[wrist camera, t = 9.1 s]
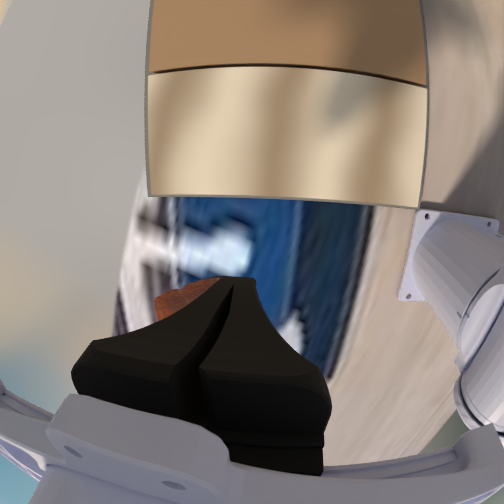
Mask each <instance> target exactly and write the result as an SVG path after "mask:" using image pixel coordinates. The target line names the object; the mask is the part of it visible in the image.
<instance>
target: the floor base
mask: <svg viewBox="0 0 504 504" xmlns="http://www.w3.org/2000/svg"><path fill="white" fill-rule="evenodd" d="M225 67H289V68H306V69H318V70H328V71H337V72H345V73H352V74H359V75H365V76H371V77H377V78H382V79H387V80H392V81H397V82H401V83H406V84H410V85H414V86H418V87H422V88H426V89H427V119H426V138H425V151H424V162H423V171H422V179H421V187H420V194H419V201H418V207H408V206H399V205H389V204H379V203H368V202H356V201H344V200H330V199H315V198H298V197H278V196H251V195H200V194H172V195H152V194H151V181H150V164H149V142H148V76H149V75H155V74H162V73H169V72H177V71H186V70H196V69H208V68H225ZM144 110H145V155H146V175H147V190H148V197H237V198H268V199H290V200H308V201H324V202H339V203H352V204H364V205H375V206H386V207H396V208H405V209H414V210H420V203H421V197H422V189H423V182H424V173H425V163H426V152H427V138H428V117H429V76H428V56H427V43H426V32H425V24H424V16H423V9H422V3H421V0H151V2H150V11H149V21H148V32H147V46H146V65H145V107H144Z"/></svg>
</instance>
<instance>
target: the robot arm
mask: <svg viewBox="0 0 504 504" xmlns="http://www.w3.org/2000/svg"><path fill="white" fill-rule="evenodd" d="M427 213H428V217H427V218H425V214H427ZM488 222H489V224H488ZM487 224H488V225H487ZM499 225H500V223H499V221H498V220H496V219H493V218H487V217H480V216H474V215H467V214H460V213H453V212H446V211H438V210H431V209H422V208H420V210H417V211H416V212H415V217H414V223H413V228H412V233H411V239H410V244H409V248H408V253H407V258H406V262H405V266H404V271H403V275H402V279H401V283H400V287H399V290H398V294H397V297H398V299H399V300H400V301H427V303H428V304H429V305H430V307H431V308H432V310H433V311H434V313H435V314H436V316H437V317H438V319H439V320H440V322H441V323H442V325H443V326H444V328H445V329H446V331H447V332H448V334H449V335H450V337H451V339H452V340H453V342H454V343H455V345H456V347H457V348H458V355H457V357H456V359H455V361H454V362H455V363H456V365H457V367H458V369H459V371H460V373H461V374H460V376H459V377H458V379H457V381H456V382H455V386H454V392H453V394H454V401H455V405H456V408H457V410H458V413H459V414H460V416H461V418H462V420H463V421H464V423H465V424H466V425H467V427H468V428H469V429H470V431H468V432H466V433H464V434H463V435H462V436H461V437H460V438H459V439H458V440H457V441H456V443H455V444H454V446H450V447H447V448H443V449H439V450H435V451H431V452H427V453H423V454H418V455H413V456H408V457H403V458H398V459H392V460H385V461H378V462H371V463H362V464H353V465H340V466H323V450H322V448H323V447H324V431H325V429H326V426H327V423H328V421H329V418H330V416H331V411H332V403H331V397H330V394H329V390H328V387H327V384H326V382H325V379H324V377H323V374H322V372H321V370H320V368H319V367H317V366H316V365H314V364H313V363H311V362H310V361H308V360H307V359H305V358H304V357H302V356H301V355H300V354H299V353H297V352H296V351H295V350H294V349H293V348H292V347H291V346H290V345H289V344H288V343H287V342H286V341H285V340H284V339H283V338H282V337H281V335H280V334H279V333H278V332H277V330H276V329H275V327H274V326H273V325H272V323H271V322H270V320H269V318H268V317H267V315H266V313H265V311H264V309H263V307H262V304H261V302H260V300H259V297H258V294H257V290H256V280H255V279H254V278H247V277H231V276H223V277H221V278H220V279H219V280H218V281H217V282H215V283H214V284H213V285H212V286H211V287H210V288H209V289H207V290H206V291H205V292H204V293H203V294H201V295H200V296H199V297H198V298H196V299H195V300H193V301H192V302H191V303H189V304H188V305H186V306H185V307H184V308H182V309H180V310H179V311H177V312H175V313H174V314H172V315H170V316H168V317H166V318H164V319H162V320H160V321H158V322H156V323H153V324H151V325H149V326H146V327H144V328H141V329H138V330H135V331H132V332H129V333H126V334H122V335H118V336H114V337H109V338H104V339H100V340H93V341H92V342H91V343H90V345H89V346H88V347H87V348H86V350H85V351H84V352H83V354H82V355H81V357H80V358H79V359H78V361H77V362H76V363H75V365H74V366H73V368H72V371H71V377H72V381H73V383H74V386H75V388H76V390H77V392H78V393H79V394H69V395H68V396H67V398H66V399H65V400H64V401H63V403H62V404H61V406H60V407H59V409H58V411H57V412H56V414H55V415H54V414H52V413H50V412H48V411H46V410H43V409H41V408H39V407H37V406H35V405H33V404H31V403H29V402H28V401H26V400H24V399H22V398H20V397H18V396H17V395H15V394H13V393H11V392H10V391H8V390H6V388H5V386H4V384H3V383H2V381H1V380H0V454H2V455H3V456H4V457H6V458H7V459H8V460H10V461H11V462H12V463H14V464H15V465H16V466H18V467H19V468H21V469H22V470H23V471H25V472H26V473H27V474H29V475H30V476H32V477H33V478H35V479H36V480H38V481H39V484H38V486H37V488H36V490H35V492H34V494H33V496H32V498H31V500H30V502H29V504H480V503H481V502H483V501H484V500H486V499H487V498H489V497H490V496H491V495H493V494H494V493H496V492H497V491H498V490H500V489H501V488H502V487H503V486H504V236H503V235H501V234H500V233H498V230H499ZM408 294H410V295H409V296H407V295H408ZM406 296H407V297H406Z"/></svg>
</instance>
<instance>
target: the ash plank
mask: <svg viewBox="0 0 504 504" xmlns="http://www.w3.org/2000/svg"><path fill="white" fill-rule="evenodd" d="M426 119H427V89H426V88H422V87H418V86H414V85H410V84H406V83H401V82H397V81H392V80H387V79H382V78H377V77H371V76H365V75H359V74H352V73H345V72H337V71H328V70H318V69H306V68H289V67H225V68H208V69H196V70H186V71H177V72H169V73H162V74H155V75H149V76H148V142H149V164H150V181H151V194H152V195H172V194H200V195H251V196H278V197H298V198H315V199H330V200H344V201H356V202H368V203H379V204H389V205H399V206H408V207H418V201H419V194H420V187H421V179H422V171H423V162H424V151H425V138H426Z"/></svg>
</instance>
